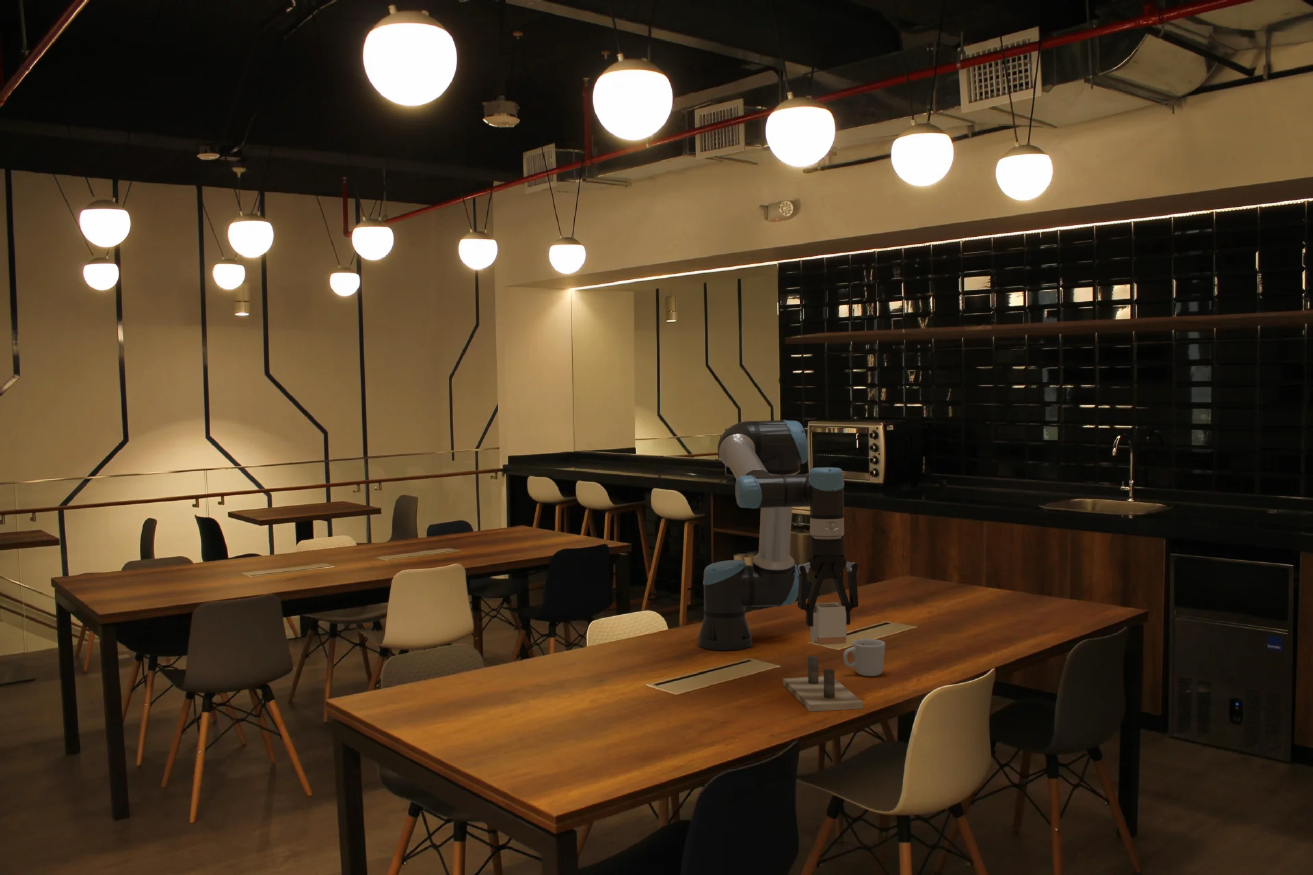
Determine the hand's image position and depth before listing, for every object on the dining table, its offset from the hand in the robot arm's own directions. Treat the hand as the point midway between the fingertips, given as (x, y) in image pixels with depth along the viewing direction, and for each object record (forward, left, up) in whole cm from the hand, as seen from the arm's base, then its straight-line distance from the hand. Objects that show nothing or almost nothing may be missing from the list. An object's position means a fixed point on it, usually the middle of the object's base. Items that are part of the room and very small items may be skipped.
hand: (828, 639), depth 224 cm
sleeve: (0, 0, 0) cm, 0 cm away
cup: (-22, +16, -15) cm, 31 cm away
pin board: (-6, 0, -14) cm, 16 cm away
